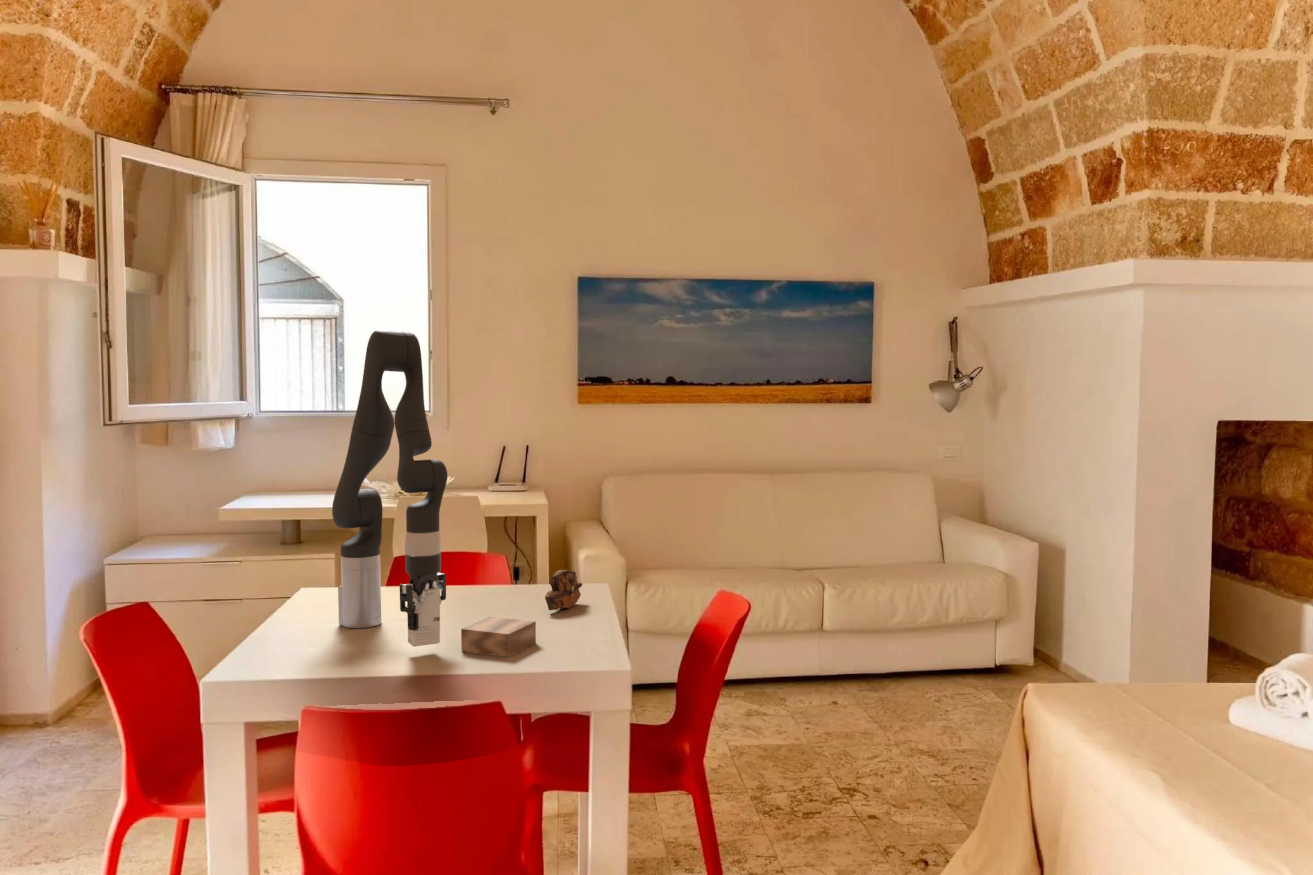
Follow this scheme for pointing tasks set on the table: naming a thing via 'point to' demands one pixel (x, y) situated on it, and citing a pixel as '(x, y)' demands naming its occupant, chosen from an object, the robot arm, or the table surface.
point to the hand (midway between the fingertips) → (423, 625)
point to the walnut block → (498, 636)
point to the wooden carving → (563, 590)
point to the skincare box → (427, 620)
